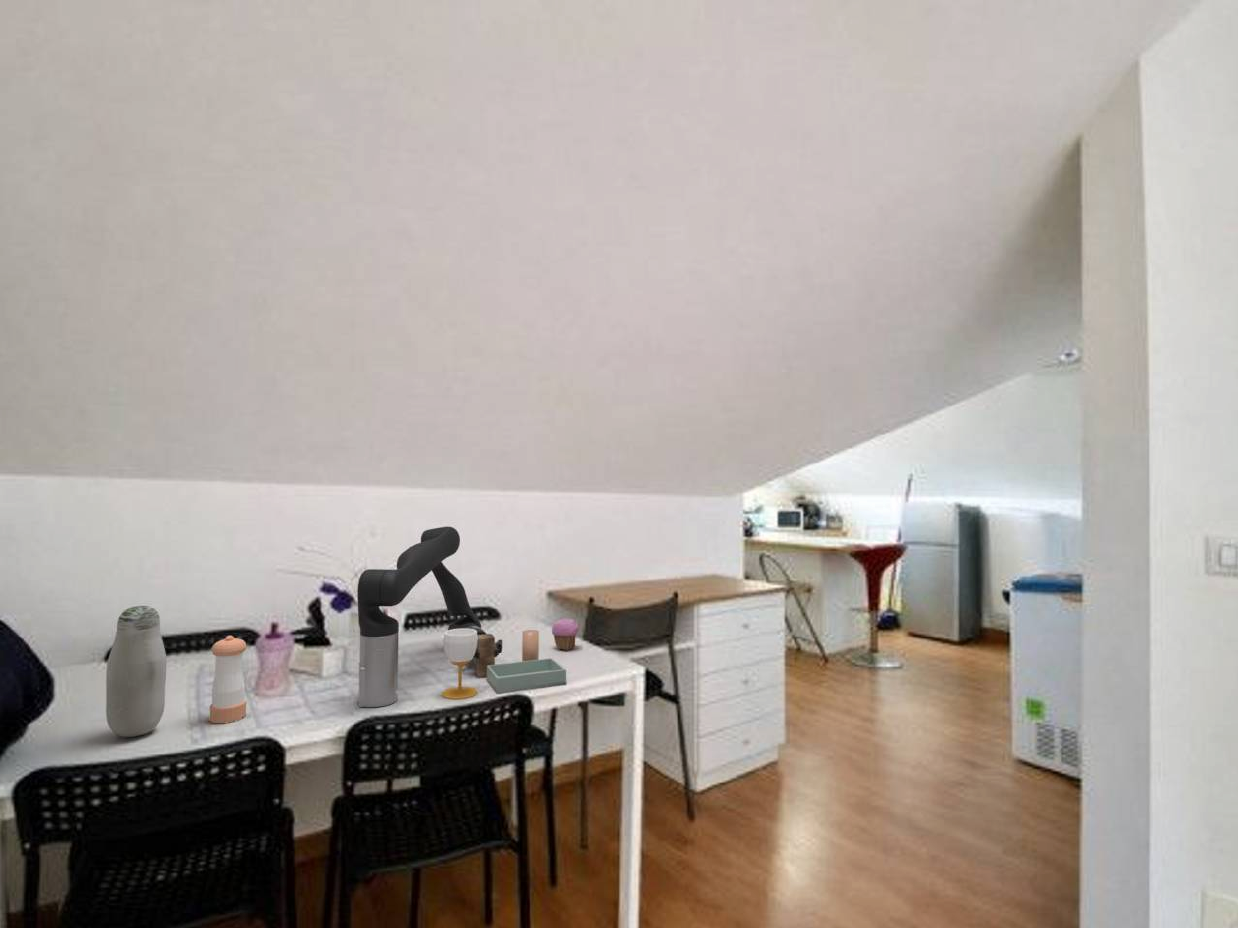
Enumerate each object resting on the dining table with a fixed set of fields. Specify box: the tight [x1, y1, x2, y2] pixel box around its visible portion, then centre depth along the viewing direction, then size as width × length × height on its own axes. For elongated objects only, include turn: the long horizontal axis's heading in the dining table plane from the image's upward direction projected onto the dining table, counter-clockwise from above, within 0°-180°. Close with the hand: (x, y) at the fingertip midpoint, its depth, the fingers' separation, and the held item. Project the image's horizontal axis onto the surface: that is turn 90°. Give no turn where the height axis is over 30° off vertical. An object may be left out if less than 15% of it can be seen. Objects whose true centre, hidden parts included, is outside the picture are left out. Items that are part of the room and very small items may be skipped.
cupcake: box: [551, 618, 580, 651], centre depth 212 cm, size 9×9×10 cm
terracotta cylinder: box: [521, 629, 540, 662], centre depth 189 cm, size 5×5×11 cm
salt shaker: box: [209, 635, 247, 724], centre depth 150 cm, size 7×7×19 cm
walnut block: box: [475, 633, 496, 679], centre depth 184 cm, size 4×4×11 cm
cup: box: [442, 628, 478, 700], centre depth 168 cm, size 9×9×16 cm
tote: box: [486, 657, 567, 695], centre depth 177 cm, size 19×12×4 cm, turn 114°
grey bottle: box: [105, 605, 167, 738], centre depth 140 cm, size 10×10×28 cm
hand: (487, 654), depth 181 cm, fingers closed on walnut block, 4 cm apart
